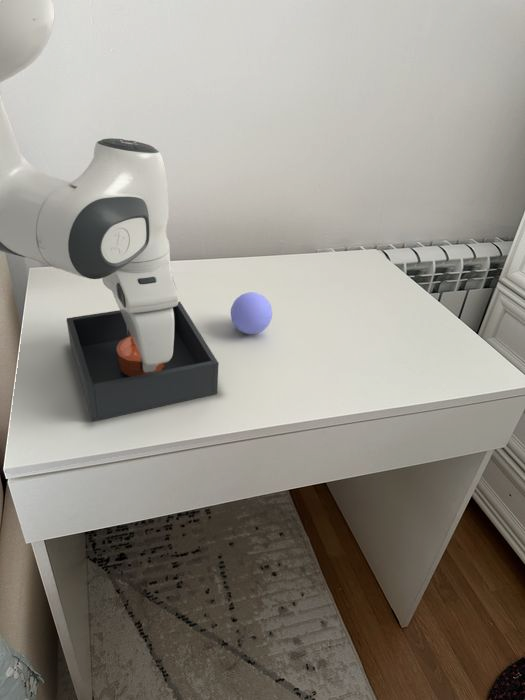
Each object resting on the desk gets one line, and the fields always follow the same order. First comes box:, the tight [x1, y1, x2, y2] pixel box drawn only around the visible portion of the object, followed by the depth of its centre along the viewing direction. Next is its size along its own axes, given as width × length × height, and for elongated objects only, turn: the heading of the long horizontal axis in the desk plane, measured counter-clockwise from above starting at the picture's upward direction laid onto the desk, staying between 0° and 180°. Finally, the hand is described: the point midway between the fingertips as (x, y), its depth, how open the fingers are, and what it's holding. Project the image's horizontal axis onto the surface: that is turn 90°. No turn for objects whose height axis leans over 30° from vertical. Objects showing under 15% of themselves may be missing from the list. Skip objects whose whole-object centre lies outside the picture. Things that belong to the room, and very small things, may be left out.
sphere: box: [230, 291, 273, 335], centre depth 89 cm, size 7×7×7 cm
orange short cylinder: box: [116, 336, 165, 377], centre depth 78 cm, size 7×7×3 cm
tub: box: [66, 300, 219, 423], centre depth 78 cm, size 18×18×6 cm
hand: (141, 353), depth 78 cm, fingers closed on orange short cylinder, 7 cm apart
